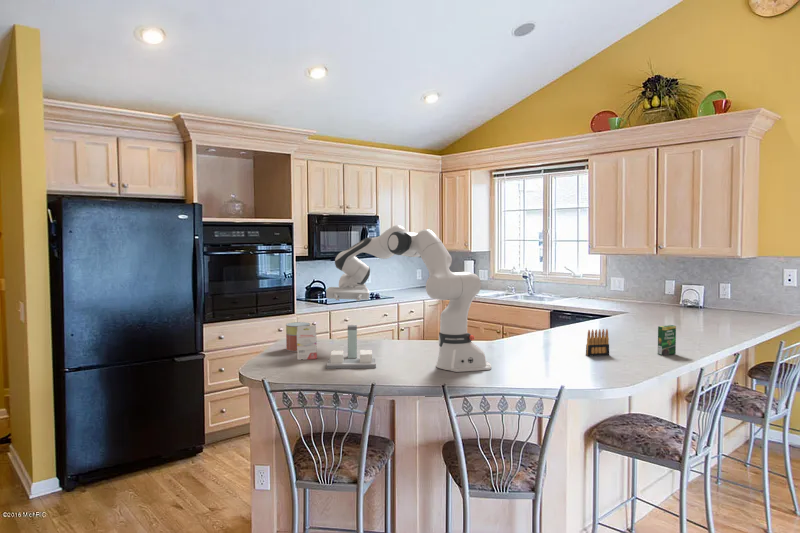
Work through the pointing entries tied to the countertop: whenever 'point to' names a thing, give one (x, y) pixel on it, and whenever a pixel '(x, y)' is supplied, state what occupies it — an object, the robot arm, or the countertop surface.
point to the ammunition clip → (597, 343)
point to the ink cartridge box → (306, 342)
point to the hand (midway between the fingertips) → (347, 299)
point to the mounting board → (351, 360)
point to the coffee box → (666, 340)
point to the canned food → (293, 335)
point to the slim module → (352, 341)
